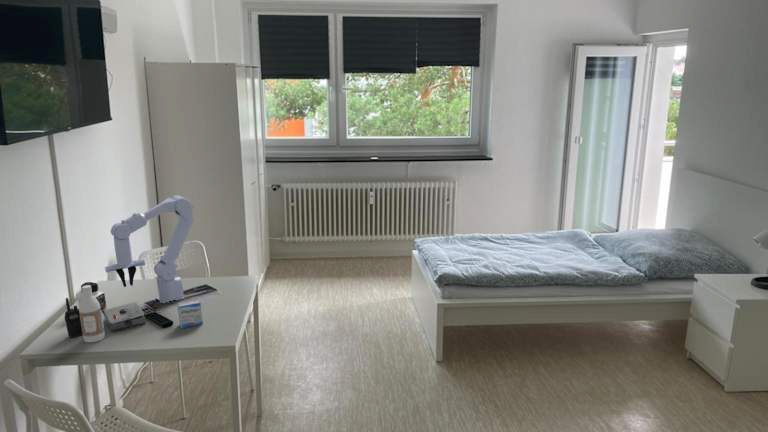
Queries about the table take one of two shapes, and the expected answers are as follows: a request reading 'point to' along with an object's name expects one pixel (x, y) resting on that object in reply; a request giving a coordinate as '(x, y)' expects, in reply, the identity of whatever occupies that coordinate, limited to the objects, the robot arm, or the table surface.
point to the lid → (122, 313)
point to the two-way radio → (73, 321)
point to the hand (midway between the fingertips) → (128, 285)
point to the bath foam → (91, 317)
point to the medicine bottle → (95, 294)
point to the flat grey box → (126, 323)
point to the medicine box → (190, 313)
